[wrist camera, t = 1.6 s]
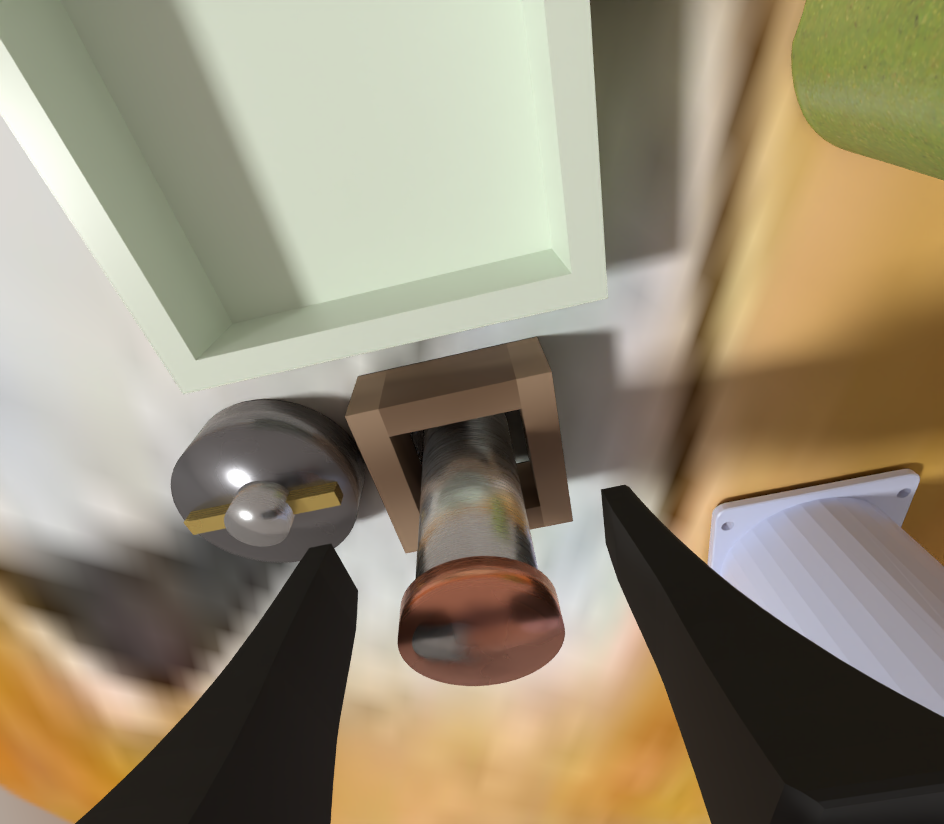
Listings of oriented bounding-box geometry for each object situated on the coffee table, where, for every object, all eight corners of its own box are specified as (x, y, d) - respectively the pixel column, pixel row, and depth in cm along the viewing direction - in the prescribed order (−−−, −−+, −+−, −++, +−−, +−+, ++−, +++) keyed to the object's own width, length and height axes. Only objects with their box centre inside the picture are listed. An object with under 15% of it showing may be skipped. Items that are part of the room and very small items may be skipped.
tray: (577, 264, 14) (608, 298, 11) (228, 345, 15) (183, 394, 12) (517, -380, 8) (552, -612, 5) (-65, -183, 9) (-273, -304, 6)
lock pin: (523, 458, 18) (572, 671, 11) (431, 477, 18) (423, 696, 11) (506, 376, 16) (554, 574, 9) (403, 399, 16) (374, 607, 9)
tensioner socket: (558, 475, 18) (572, 521, 16) (409, 505, 19) (405, 553, 17) (537, 336, 15) (551, 371, 13) (357, 376, 15) (344, 416, 13)
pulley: (385, 510, 19) (377, 567, 16) (244, 538, 19) (216, 598, 17) (328, 383, 15) (308, 431, 13) (161, 420, 16) (112, 473, 14)
